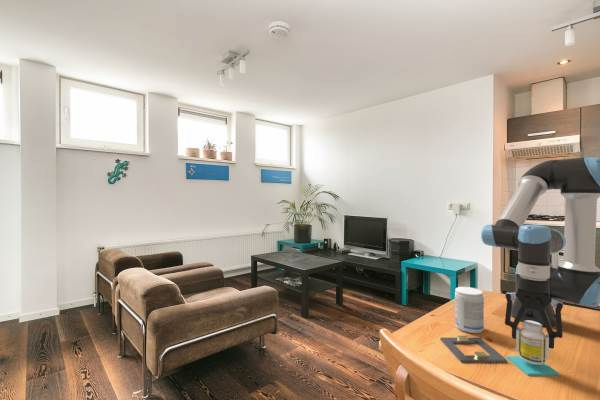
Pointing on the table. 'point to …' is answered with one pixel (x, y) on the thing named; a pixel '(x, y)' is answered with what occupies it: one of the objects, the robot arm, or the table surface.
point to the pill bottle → (532, 343)
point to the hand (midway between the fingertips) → (532, 353)
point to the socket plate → (478, 356)
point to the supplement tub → (469, 309)
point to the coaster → (532, 367)
